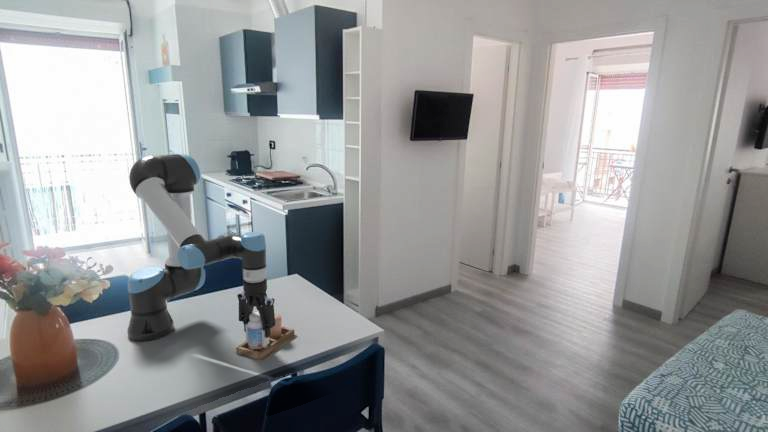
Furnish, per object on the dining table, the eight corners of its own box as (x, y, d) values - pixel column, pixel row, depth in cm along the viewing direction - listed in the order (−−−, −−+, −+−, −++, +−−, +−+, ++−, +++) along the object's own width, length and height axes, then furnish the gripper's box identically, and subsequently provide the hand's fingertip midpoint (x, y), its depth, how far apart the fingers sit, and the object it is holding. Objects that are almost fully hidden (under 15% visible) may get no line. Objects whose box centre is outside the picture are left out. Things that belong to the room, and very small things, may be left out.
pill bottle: (261, 351, 144) (260, 319, 142) (245, 348, 145) (243, 317, 143) (270, 342, 150) (269, 312, 148) (253, 340, 151) (252, 310, 149)
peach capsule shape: (264, 339, 155) (263, 318, 153) (273, 333, 159) (272, 313, 158) (276, 342, 153) (275, 321, 151) (284, 336, 157) (284, 315, 156)
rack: (234, 354, 146) (233, 346, 145) (270, 330, 163) (269, 323, 162) (262, 363, 141) (262, 355, 141) (296, 337, 158) (296, 330, 158)
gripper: (224, 278, 143) (228, 341, 148) (271, 287, 136) (273, 354, 140) (240, 271, 150) (243, 332, 155) (285, 280, 142) (287, 344, 147)
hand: (257, 342), depth 148 cm, fingers closed on pill bottle, 6 cm apart
